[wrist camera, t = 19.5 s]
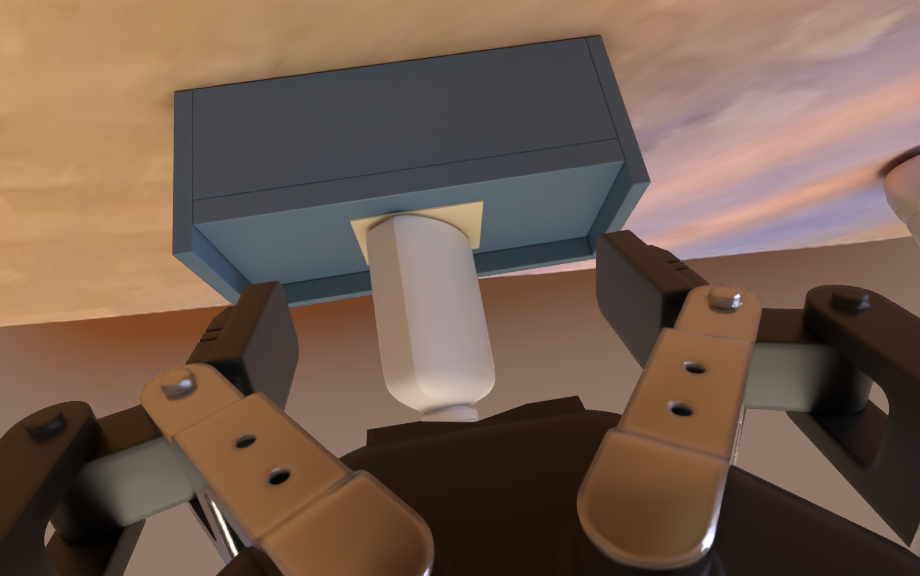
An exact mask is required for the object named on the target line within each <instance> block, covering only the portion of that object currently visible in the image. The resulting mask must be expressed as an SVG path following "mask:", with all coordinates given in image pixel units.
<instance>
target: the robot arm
mask: <svg viewBox="0 0 920 576" xmlns="http://www.w3.org/2000/svg"><path fill="white" fill-rule="evenodd" d="M596 296H597V302H598V306H599V309H600V311H601V313H602V315H603V316H604V317H605V319H606V320H607V321H608V322H609V324H610V325H611V327H612V328H613V329H614V331H615V332H616V334H617V335H618V336H619V338H620V339H621V340H622V341H623V343H624V344H625V346H626V347H627V348H628V350H629V351H630V352H631V354H632V355H633V357H634V358H635V359H636V361H637V362H638V363H639V365H640V366H641V367H642V369H643V371H642V374H641V376H640V378H639V380H638V382H637V384H636V387H635V389H634V391H633V393H632V395H631V397H630V399H629V402H628V404H627V406H626V408H625V410H624V412H623V414H622V415H620V414H617V413H611V412H606V411H598V410H585V408H584V406H583V404H582V402H581V400H580V398H579V396H572V397H566V398H560V399H553V400H548V401H541V402H535V403H530V404H525V405H522V406H520V407H517V408H514V409H511V410H508V411H505V412H503V413H500V414H497V415H494V416H491V417H488V418H486V419H483V420H480V421H475V422H441V421H418V422H412V423H406V424H400V425H394V426H388V427H382V428H376V429H369V430H367V444H366V446H364V447H361V448H359V449H357V450H354V451H352V452H350V453H348V454H346V455H344V456H342V457H341V458H339V459H338V458H336V457H335V456H334V455H333V454H332V453H331V452H330V451H329V450H327V449H326V448H325V447H324V446H323V445H321V443H319V442H318V441H317V440H316V439H315V438H314V437H313V436H311V435H310V434H309V433H308V432H307V431H306V430H304V429H303V428H302V427H301V426H300V425H299V424H298V423H296V422H295V421H294V420H293V419H292V418H291V417H290V416H288V415H287V414H286V413H285V412H284V409H285V406H286V402H287V398H288V395H289V391H290V388H291V384H292V380H293V377H294V373H295V370H296V366H297V363H298V358H299V347H298V339H297V335H296V331H295V328H294V324H293V321H292V317H291V314H290V310H289V307H288V303H287V300H286V296H285V292H284V289H283V287H282V285H281V283H280V282H279V281H271V282H264V283H257V284H250V285H247V286H246V287H245V289H244V291H243V293H242V295H241V296H240V298H239V300H238V302H237V304H236V305H235V306H232V307H227V308H226V309H225V310H224V311H222V312H221V313H220V314H219V315H217V316H216V317H215V318H213V320H212V322H211V323H210V325H209V326H208V328H207V329H206V333H204V334H203V336H202V338H201V339H200V342H199V343H198V344H197V346H196V348H195V349H194V351H193V353H192V354H191V356H190V357H189V359H188V361H187V362H186V364H185V365H183V366H179V367H176V368H173V369H171V370H168V371H166V372H164V373H162V374H161V375H159V376H157V377H155V378H154V379H152V380H151V381H150V382H149V383H147V384H146V385H145V387H144V388H143V389H142V390H141V392H140V395H139V400H140V402H141V404H140V405H138V406H135V407H133V408H130V409H127V410H124V411H120V412H118V413H115V414H111V415H108V416H105V417H103V418H99V419H96V417H95V415H94V413H93V411H92V409H91V407H90V406H89V404H87V403H85V402H82V401H70V402H64V403H59V404H56V405H52V406H49V407H47V408H44V409H42V410H40V411H37V412H35V413H33V414H31V415H30V416H28V417H26V418H24V419H22V420H21V421H19V422H18V423H17V424H15V425H14V426H13V427H12V428H10V429H9V430H8V431H7V432H6V433H5V434H4V436H3V437H2V438H1V439H0V576H123V574H124V571H125V569H126V566H127V564H128V562H129V560H130V557H131V555H132V553H133V550H134V548H135V546H136V543H137V541H138V539H139V536H140V534H141V531H142V529H143V527H144V524H145V521H146V518H147V517H150V516H152V515H155V514H157V513H160V512H162V511H165V510H167V509H170V508H172V507H175V506H177V505H180V504H182V503H185V502H187V504H188V506H189V508H190V510H191V511H192V513H193V514H194V516H195V517H196V519H197V521H198V522H199V523H200V525H201V527H202V528H203V530H204V531H205V532H206V534H207V536H208V537H209V539H210V540H211V542H212V543H213V545H214V546H215V548H216V549H217V551H218V552H219V554H220V555H221V557H222V558H223V560H224V562H225V563H226V566H225V567H224V568H223V569H222V570H221V571H220V572H219V573H218V574H217V575H216V576H920V318H919V317H917V316H915V315H914V314H912V313H910V312H909V311H907V310H905V309H904V308H902V307H900V306H899V305H897V304H895V303H894V302H892V301H890V300H889V299H887V298H885V297H884V296H882V295H880V294H878V293H875V292H873V291H870V290H867V289H863V288H859V287H853V286H846V285H824V286H819V287H815V288H813V289H811V290H810V291H808V293H807V295H806V300H805V305H804V309H769V308H762V306H763V302H762V299H761V298H760V297H759V296H758V295H757V294H755V293H754V292H752V291H750V290H747V289H744V288H741V287H738V286H733V285H725V284H709V283H708V282H707V281H705V280H704V279H703V278H702V277H700V276H699V275H698V274H697V273H695V272H694V271H693V270H692V269H689V267H688V266H687V265H685V264H684V263H683V262H680V260H679V259H678V258H677V257H675V256H674V255H673V254H672V253H670V252H669V251H667V250H664V249H661V248H658V247H656V246H653V245H646V244H645V243H644V242H643V241H642V240H640V239H639V238H638V237H637V236H636V235H635V234H633V233H632V232H631V231H630V230H624V231H617V232H610V233H604V234H599V235H598V237H597V241H596ZM873 381H874V382H876V383H877V384H878V385H879V386H880V387H881V388H882V389H883V391H884V392H885V394H886V396H887V399H888V403H889V415H887V414H885V413H884V412H883V411H882V410H881V409H879V408H878V407H877V406H876V405H875V404H874V403H873V402H871V401H870V400H869V399H868V397H869V394H870V390H871V387H872V383H873ZM747 408H748V409H763V410H764V409H765V410H780V411H786V413H787V415H788V416H789V417H790V419H791V420H792V421H793V422H794V423H795V424H796V425H797V426H798V427H799V429H800V430H801V431H802V432H803V433H804V434H805V435H806V436H807V437H808V438H809V439H810V440H811V442H812V443H813V444H814V445H815V446H816V447H817V448H818V449H819V450H820V451H821V452H822V453H823V455H824V456H825V457H826V458H827V459H828V460H829V461H830V462H831V463H832V464H833V465H834V467H835V468H836V469H837V470H838V471H839V472H840V473H841V474H842V475H843V476H844V477H845V478H846V480H847V481H848V482H849V483H850V484H851V485H852V486H853V487H854V488H855V489H856V490H857V492H858V493H859V494H860V495H861V496H862V497H863V498H864V499H865V500H866V501H867V503H868V504H869V505H870V506H871V507H872V508H873V509H874V510H875V511H876V512H877V513H878V514H879V516H881V518H882V519H883V520H884V521H885V522H886V523H887V524H888V525H889V526H890V528H891V529H892V530H893V531H894V532H895V533H896V534H897V535H898V536H899V537H900V538H901V539H902V541H903V542H904V543H905V544H906V545H907V546H908V547H909V548H910V549H909V550H908V549H906V548H904V547H902V546H901V545H899V544H897V543H895V542H893V541H891V540H889V539H887V538H885V537H883V536H880V535H878V534H877V533H875V532H872V531H870V530H868V529H866V528H864V527H862V526H860V525H858V524H856V523H853V522H851V521H849V520H847V519H845V518H843V517H841V516H839V515H837V514H835V513H833V512H831V511H828V510H826V509H824V508H822V507H820V506H818V505H816V504H814V503H812V502H810V501H808V500H806V499H803V498H801V497H799V496H797V495H795V494H793V493H791V492H789V491H787V490H785V489H782V488H780V487H778V486H776V485H774V484H772V483H770V482H768V481H766V480H764V479H762V478H759V477H757V476H755V475H753V474H751V473H749V472H747V471H745V470H743V469H741V468H739V467H736V462H737V457H738V452H739V446H740V441H741V436H742V430H743V425H744V420H745V414H746V409H747ZM49 520H50V521H51V524H52V525H53V527H54V528H55V530H56V531H55V532H54V534H53V536H52V537H51V539H50V541H49V543H48V544H47V546H46V547H45V545H44V535H45V530H46V527H47V524H48V522H49Z"/></svg>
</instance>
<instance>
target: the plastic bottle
mask: <svg viewBox="0 0 920 576" xmlns="http://www.w3.org/2000/svg"><path fill="white" fill-rule="evenodd" d="M884 190H885V194H886V198H887V202H888V204H889V205H890V207H891V208H892V210H893V211H894V212H895V214H896V215H897V216H898V218H899V219H900V220H901V221H902V222H903V223H905V224H906V225H907V228H908V229H909V231H910V232H911V234H912V236H913V237H914V239H915V240H916V242H917V244H918V245H919V247H920V155H917V156H915V157H913V158H911V159H909V160H907V161H905V162H903V163H902V164H900V165H898V166H897V167H895V168H894V169H893V170H892V171H890V172H889V174H888V175H887V177H886V180H885V184H884Z"/></svg>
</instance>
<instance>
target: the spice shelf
mask: <svg viewBox="0 0 920 576" xmlns="http://www.w3.org/2000/svg"><path fill="white" fill-rule="evenodd" d="M649 184H650V178H649V175H648V172H647V169H646V166H645V164H644V161H643V158H642V155H641V152H640V149H639V146H638V143H637V140H636V137H635V134H634V131H633V128H632V125H631V122H630V120H629V117H628V114H627V111H626V108H625V105H624V102H623V99H622V96H621V93H620V90H619V87H618V84H617V81H616V79H615V76H614V73H613V70H612V67H611V64H610V61H609V58H608V55H607V52H606V49H605V46H604V43H603V40H602V37H601V36H594V37H587V38H578V39H571V40H563V41H556V42H548V43H541V44H533V45H526V46H518V47H511V48H503V49H496V50H488V51H481V52H473V53H466V54H458V55H450V56H443V57H435V58H428V59H420V60H413V61H405V62H398V63H390V64H383V65H375V66H368V67H360V68H353V69H345V70H338V71H330V72H323V73H315V74H308V75H300V76H293V77H285V78H278V79H270V80H263V81H255V82H248V83H240V84H233V85H225V86H218V87H210V88H203V89H195V90H193V91H192V90H187V91H180V92H175V93H174V171H173V248H172V254H173V256H175V257H176V258H177V259H178V260H179V261H181V262H182V263H183V264H184V265H186V266H187V267H188V268H189V269H190V270H192V271H193V272H194V273H195V274H196V275H198V276H199V277H200V278H201V279H202V280H204V281H205V282H206V283H207V284H209V285H210V286H211V287H212V288H213V289H215V290H216V291H217V292H218V293H219V294H221V295H222V296H223V297H224V298H225V299H227V300H228V301H229V302H230V303H232V304H233V305H234V306H235V305H236V304H237V302H238V300H239V298H240V296H241V295H242V293H243V291H244V289H245V287H246V286H247V285H250V284H257V283H264V282H271V281H279V282H280V283H281V285H282V287H283V289H284V292H285V296H286V300H287V303H288V307H289V308H290V307H296V306H303V305H309V304H315V303H321V302H328V301H334V300H339V299H346V298H352V297H359V296H365V295H371V294H373V293H372V285H371V276H370V268H369V260H368V252H367V244H366V236H367V234H368V233H369V231H370V230H372V229H373V228H375V227H376V226H378V225H380V224H381V223H383V222H385V221H386V220H388V219H390V218H392V217H394V216H398V215H412V216H420V217H427V218H431V219H435V220H439V221H442V222H445V223H447V224H449V225H451V226H453V227H455V228H456V229H458V230H459V231H461V232H462V233H463V234H464V235H465V236H466V238H467V239H468V241H469V243H470V245H471V249H472V254H473V259H474V264H475V269H476V274H477V278H478V277H484V276H490V275H496V274H502V273H509V272H515V271H521V270H527V269H534V268H540V267H546V266H552V265H559V264H565V263H571V262H577V261H584V260H589V259H596V241H597V237H598V235H599V234H604V233H610V232H617V231H620V230H621V229H622V227H623V225H624V224H625V222H626V221H627V219H628V217H629V216H630V214H631V213H632V211H633V210H634V208H635V206H636V205H637V203H638V202H639V200H640V198H641V197H642V195H643V194H644V192H645V190H646V189H647V187H648V186H649Z"/></svg>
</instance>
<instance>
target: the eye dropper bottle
mask: <svg viewBox="0 0 920 576" xmlns="http://www.w3.org/2000/svg"><path fill="white" fill-rule="evenodd" d="M366 244H367V252H368V260H369V268H370V276H371V285H372V293H373V301H374V308H375V316H376V324H377V332H378V340H379V347H380V355H381V361H382V368H383V374H384V379H385V383H386V387H387V389H388V391H389V392H390V393H391V394H392V395H393V396H394V397H395V398H396V399H397V400H399V401H400V402H402V403H403V404H405V405H407V406H409V407H411V408H413V409H416V410H418V411H420V412H421V413H422V414H423V415H428V416H426V417H424V418H422V419H421V421H441V422H475V421H478V415H477V410H476V409H469V408H470V407H472V406H473V405H474V404H475V402H476V401H478V400H480V399H481V398H483V397H484V396H486V395H487V394H488V393H489V392H490V391H491V389H492V388H493V385H494V383H495V369H494V363H493V358H492V352H491V347H490V341H489V336H488V331H487V325H486V320H485V315H484V310H483V305H482V299H481V294H480V289H479V285H478V279H477V274H476V269H475V264H474V259H473V254H472V249H471V245H470V243H469V241H468V239H467V238H466V236H465V235H464V234H463V233H462V232H461V231H459V230H458V229H456V228H455V227H453V226H451V225H449V224H447V223H445V222H442V221H439V220H435V219H431V218H427V217H420V216H412V215H398V216H394V217H392V218H390V219H388V220H386V221H385V222H383V223H381V224H380V225H378V226H376V227H375V228H373V229H372V230H370V231H369V233H368V234H367V236H366Z"/></svg>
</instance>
